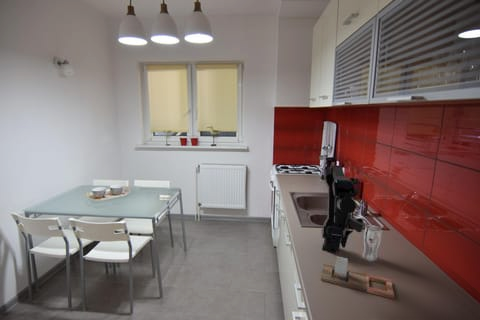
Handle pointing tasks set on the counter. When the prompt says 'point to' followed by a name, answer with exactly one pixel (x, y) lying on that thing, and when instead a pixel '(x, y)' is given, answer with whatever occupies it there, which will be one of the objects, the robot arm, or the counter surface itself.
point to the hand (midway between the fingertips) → (340, 249)
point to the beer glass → (371, 242)
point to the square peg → (340, 268)
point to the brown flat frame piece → (358, 281)
